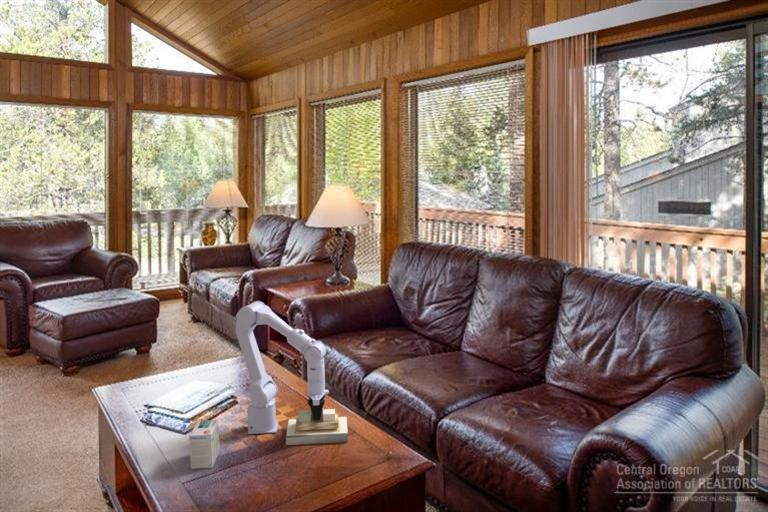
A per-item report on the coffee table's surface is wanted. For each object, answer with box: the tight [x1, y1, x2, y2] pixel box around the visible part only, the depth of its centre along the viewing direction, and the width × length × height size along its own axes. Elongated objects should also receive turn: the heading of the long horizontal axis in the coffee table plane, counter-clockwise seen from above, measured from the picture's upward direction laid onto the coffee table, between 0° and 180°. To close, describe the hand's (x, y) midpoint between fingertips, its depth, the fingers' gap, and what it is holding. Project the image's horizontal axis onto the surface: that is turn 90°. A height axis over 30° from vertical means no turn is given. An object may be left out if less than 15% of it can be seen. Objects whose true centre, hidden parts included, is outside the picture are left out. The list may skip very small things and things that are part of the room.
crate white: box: [323, 408, 336, 421], centre depth 194 cm, size 4×4×2 cm
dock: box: [285, 416, 349, 446], centre depth 194 cm, size 20×14×3 cm
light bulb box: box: [188, 419, 220, 469], centre depth 177 cm, size 11×7×11 cm, turn 5°
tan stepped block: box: [296, 407, 339, 430], centre depth 194 cm, size 14×7×6 cm, turn 95°
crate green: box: [298, 409, 311, 423], centre depth 193 cm, size 4×4×2 cm
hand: (317, 417), depth 194 cm, fingers closed on tan stepped block, 3 cm apart
